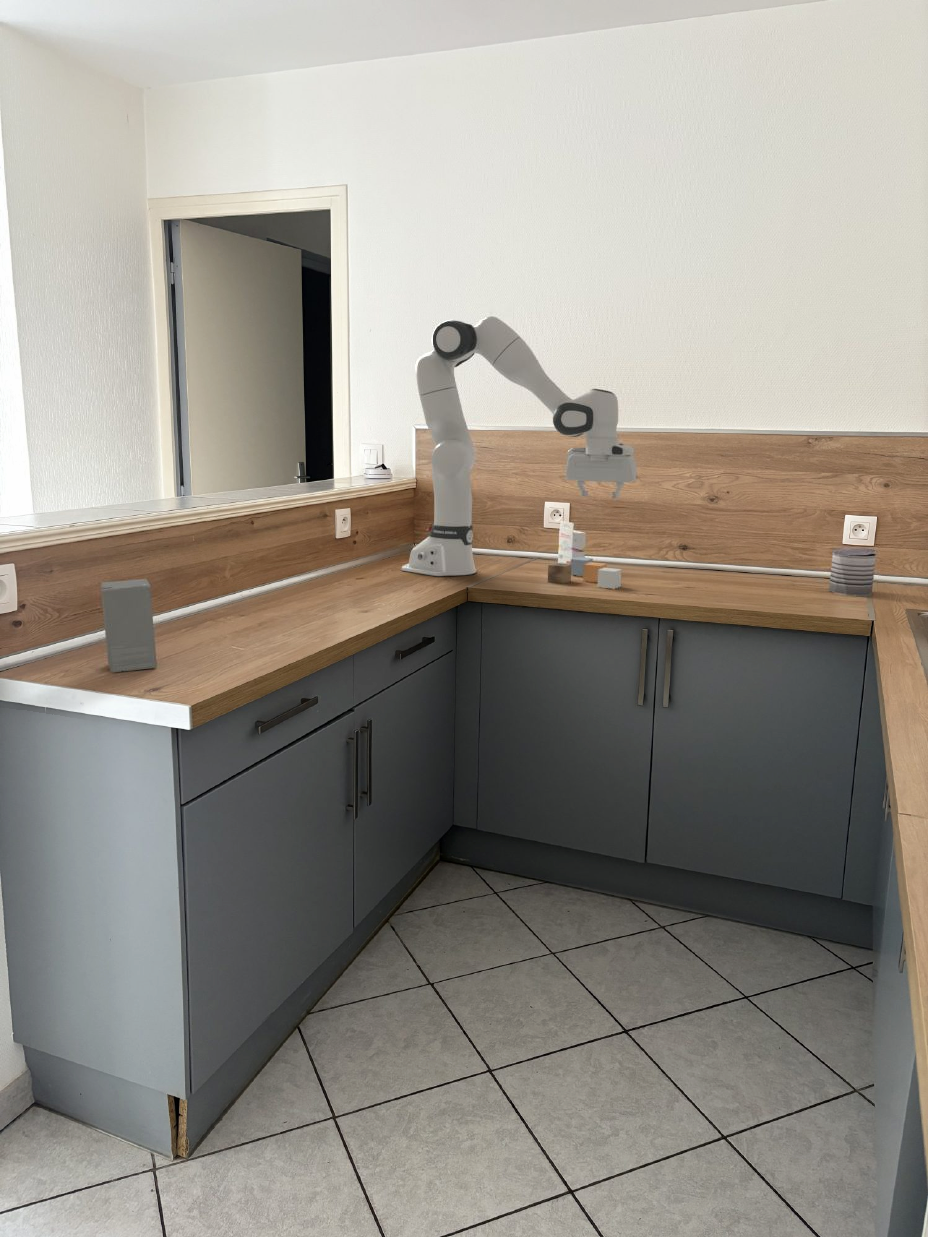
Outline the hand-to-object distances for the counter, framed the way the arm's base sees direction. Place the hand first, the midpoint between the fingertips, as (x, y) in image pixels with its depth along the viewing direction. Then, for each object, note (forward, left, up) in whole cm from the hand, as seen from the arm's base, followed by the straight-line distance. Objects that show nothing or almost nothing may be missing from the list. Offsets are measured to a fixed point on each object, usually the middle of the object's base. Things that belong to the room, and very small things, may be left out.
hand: (599, 497), depth 267 cm
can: (+66, +22, -24) cm, 74 cm away
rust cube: (0, -2, -24) cm, 24 cm away
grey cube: (+7, -9, -24) cm, 27 cm away
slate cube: (-7, +5, -24) cm, 25 cm away
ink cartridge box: (-14, +14, -24) cm, 31 cm away
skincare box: (-37, -138, -24) cm, 145 cm away
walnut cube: (-8, -9, -24) cm, 27 cm away
